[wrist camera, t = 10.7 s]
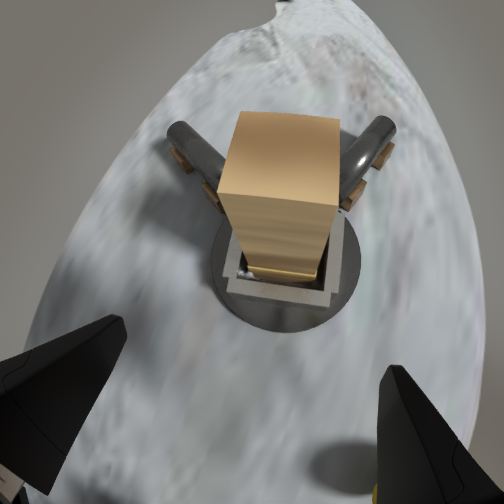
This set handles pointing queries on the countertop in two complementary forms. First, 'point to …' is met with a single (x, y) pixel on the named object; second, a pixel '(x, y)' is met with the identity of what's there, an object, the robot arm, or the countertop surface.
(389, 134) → the shaft
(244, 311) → the grey round socket base
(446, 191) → the countertop surface
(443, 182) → the countertop surface
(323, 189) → the block
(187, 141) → the shaft
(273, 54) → the countertop surface
